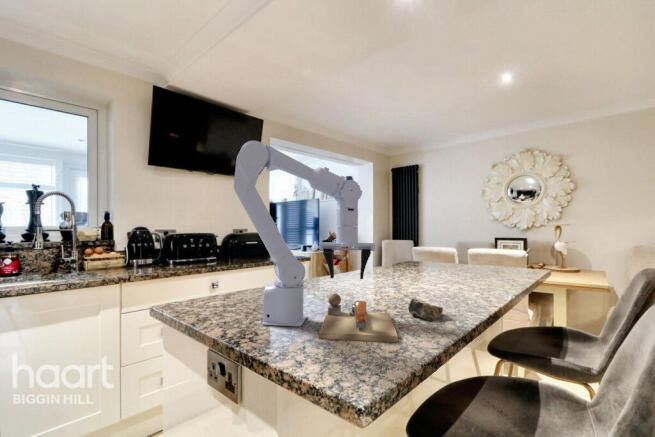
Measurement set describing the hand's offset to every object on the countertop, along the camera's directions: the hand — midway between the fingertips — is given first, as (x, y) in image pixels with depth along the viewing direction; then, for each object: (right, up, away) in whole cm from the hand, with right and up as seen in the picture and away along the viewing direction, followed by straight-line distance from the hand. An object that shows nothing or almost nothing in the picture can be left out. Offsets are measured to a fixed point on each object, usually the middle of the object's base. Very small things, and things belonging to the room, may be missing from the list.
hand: (346, 278), depth 76 cm
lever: (+3, -8, -6) cm, 10 cm away
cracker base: (+2, -10, -9) cm, 13 cm away
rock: (+21, -11, +1) cm, 24 cm away
